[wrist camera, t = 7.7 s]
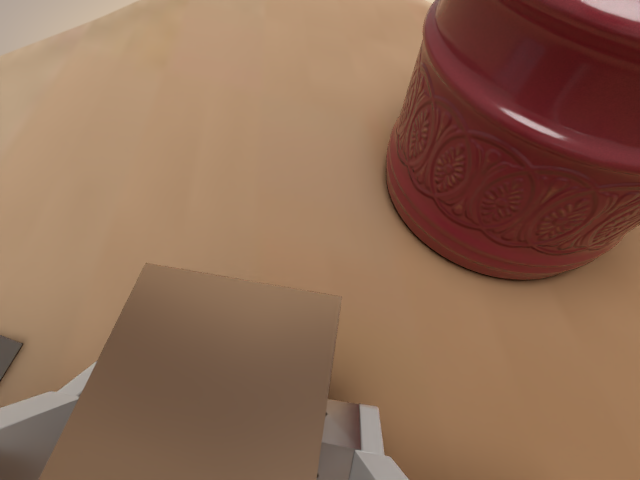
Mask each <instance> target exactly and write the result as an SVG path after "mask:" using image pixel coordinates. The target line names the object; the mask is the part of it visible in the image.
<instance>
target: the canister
mask: <svg viewBox="0 0 640 480" xmlns="http://www.w3.org/2000/svg"><path fill="white" fill-rule="evenodd" d="M386 163H387V169H386V179H387V186H388V191H389V194H390V197H391V200H392V202H393V204H394V206H395V208H396V210H397V212H398V213H399V215H400V217H401V218H402V219H403V221H404V222H405V223H406V225H407V226H408V227H409V228H410V229H411V231H412V232H413V233H414V234H415V235H416V236H417V237H418V238H419V239H421V240H422V241H423V242H424V243H425V244H426V245H428V246H429V247H430V248H432V249H433V250H434V251H436V252H437V253H439V254H440V255H442V256H443V257H445V258H447V259H449V260H450V261H452V262H454V263H456V264H458V265H460V266H463V267H465V268H467V269H470V270H472V271H475V272H478V273H481V274H485V275H489V276H493V277H498V278H504V279H513V280H533V279H541V278H547V277H551V276H554V275H557V274H560V273H563V272H565V271H569V270H572V269H575V268H578V267H581V266H583V265H585V264H587V263H589V262H591V261H593V260H595V259H596V258H598V257H599V256H600V255H602V254H604V253H606V252H607V251H609V250H610V249H612V248H613V247H614V246H615V245H617V244H618V243H619V241H620V240H621V239H622V238H623V237H624V236H625V234H626V233H628V232H629V231H631V230H632V229H634V228H635V227H637V226H638V225H640V0H435V1H434V2H433V4H432V5H431V7H430V8H429V10H428V12H427V14H426V17H425V20H424V24H423V40H422V44H421V47H420V50H419V54H418V57H417V60H416V64H415V67H414V70H413V74H412V77H411V80H410V84H409V87H408V90H407V94H406V97H405V100H404V104H403V107H402V110H401V114H400V116H399V117H398V119H397V121H396V123H395V125H394V127H393V129H392V133H391V137H390V140H389V144H388V148H387V156H386Z"/></svg>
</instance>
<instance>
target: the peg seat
mask: <svg viewBox="0 0 640 480" xmlns="http://www.w3.org/2000/svg"><path fill="white" fill-rule="evenodd" d="M21 346H22V343H19V342H17V341H14V340H12V339H9V338H6V337H4V336H1V335H0V380H1V378H2V376H3V375H4V373H5V372H6V370H7V368H8V367H9V365H10V364H11V362H12V360H13V359H14V357H15V355H16V354H17V352H18V351H19V349H20V347H21Z"/></svg>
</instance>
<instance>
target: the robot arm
mask: <svg viewBox="0 0 640 480" xmlns="http://www.w3.org/2000/svg"><path fill="white" fill-rule="evenodd" d="M96 362H97V361H96ZM96 362H95V363H93V364H92V365H91V366H90V367H88V368H87V369H86V370H84V371H83V372H82V373H80V374H79V375H78V376H77V377H75V378H74V379H73V380H71V381H70V382H69V383H68V384H66V385H65V386H64V387H62V388H61V389H60V390H59V391H57V392H52V391H50V392H47V393H44V394H41V395H38V396H35V397H32V398H29V399H26V400H23V401H20V402H17V403H14V404H11V405H8V406H5V407H2V408H0V480H39V478H40V476H41V474H42V472H43V470H44V468H45V466H46V464H47V462H48V460H49V458H50V456H51V453H52V451H53V449H54V447H55V445H56V443H57V441H58V439H59V437H60V435H61V433H62V431H63V429H64V427H65V425H66V423H67V421H68V419H69V417H70V415H71V413H72V411H73V409H74V407H75V405H76V403H77V401H78V399H79V397H80V395H81V393H82V391H83V389H84V387H85V385H86V383H87V381H88V379H89V377H90V375H91V373H92V371H93V369H94V367H95V364H96ZM316 480H409V479H408V478H407V476H406V475H405V474H404V473H403V472H402V470H401V469H400V468H399V467H398V465H397V464H396V463H395V462H394V460H393V459H392V458H391V457H390V456H385V454H384V446H383V439H382V431H381V423H380V415H379V409H378V407H377V406H372V405H365V404H355V403H349V402H344V401H338V400H333V399H328V400H327V408H326V415H325V422H324V429H323V436H322V443H321V451H320V458H319V465H318V472H317V479H316Z"/></svg>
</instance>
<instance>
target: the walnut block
mask: <svg viewBox="0 0 640 480" xmlns="http://www.w3.org/2000/svg"><path fill="white" fill-rule="evenodd" d="M341 300H342V297H341V296H335V295H330V294H324V293H318V292H312V291H306V290H301V289H295V288H289V287H283V286H277V285H272V284H266V283H260V282H254V281H248V280H242V279H237V278H231V277H225V276H219V275H213V274H208V273H202V272H196V271H190V270H184V269H179V268H173V267H167V266H161V265H155V264H150V263H145V265H144V267H143V269H142V271H141V273H140V275H139V277H138V280H137V282H136V284H135V286H134V288H133V290H132V292H131V294H130V296H129V298H128V300H127V302H126V304H125V306H124V308H123V310H122V312H121V314H120V316H119V318H118V320H117V322H116V324H115V326H114V328H113V330H112V332H111V334H110V336H109V338H108V340H107V342H106V344H105V346H104V348H103V350H102V352H101V354H100V356H99V358H98V360H97V362H96V364H95V367H94V369H93V371H92V373H91V375H90V377H89V379H88V381H87V383H86V385H85V387H84V389H83V391H82V393H81V395H80V397H79V399H78V401H77V403H76V405H75V407H74V409H73V411H72V413H71V415H70V417H69V419H68V421H67V423H66V425H65V427H64V429H63V431H62V433H61V435H60V437H59V439H58V441H57V443H56V445H55V447H54V449H53V451H52V453H51V456H50V458H49V460H48V462H47V464H46V466H45V468H44V470H43V472H42V474H41V476H40V478H39V480H316V479H317V472H318V465H319V458H320V451H321V443H322V436H323V429H324V422H325V415H326V408H327V400H328V393H329V386H330V379H331V372H332V365H333V357H334V350H335V343H336V336H337V329H338V322H339V314H340V307H341Z"/></svg>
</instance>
